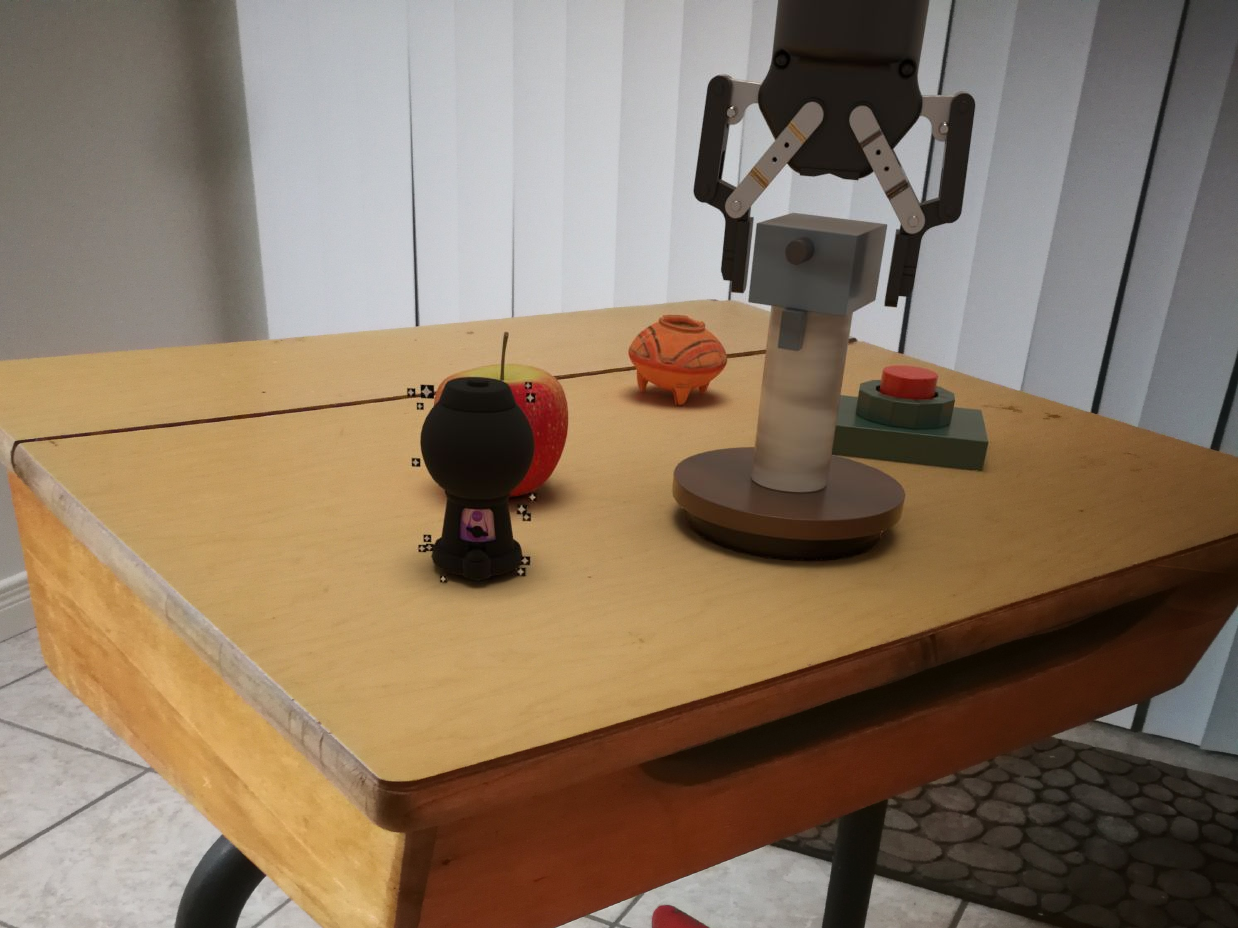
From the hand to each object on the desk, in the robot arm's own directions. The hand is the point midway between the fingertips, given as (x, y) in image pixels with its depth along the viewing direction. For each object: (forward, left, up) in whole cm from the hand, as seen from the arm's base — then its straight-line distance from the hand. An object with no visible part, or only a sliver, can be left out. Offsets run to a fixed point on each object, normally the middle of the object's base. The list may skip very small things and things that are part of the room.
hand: (813, 297), depth 71 cm
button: (-7, -21, -10) cm, 24 cm away
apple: (+18, 0, -13) cm, 22 cm away
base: (0, 0, -13) cm, 13 cm away
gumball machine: (+16, +13, -13) cm, 25 cm away
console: (-7, -21, -13) cm, 26 cm away
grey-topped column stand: (0, 0, -12) cm, 12 cm away
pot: (+11, -28, -13) cm, 33 cm away
